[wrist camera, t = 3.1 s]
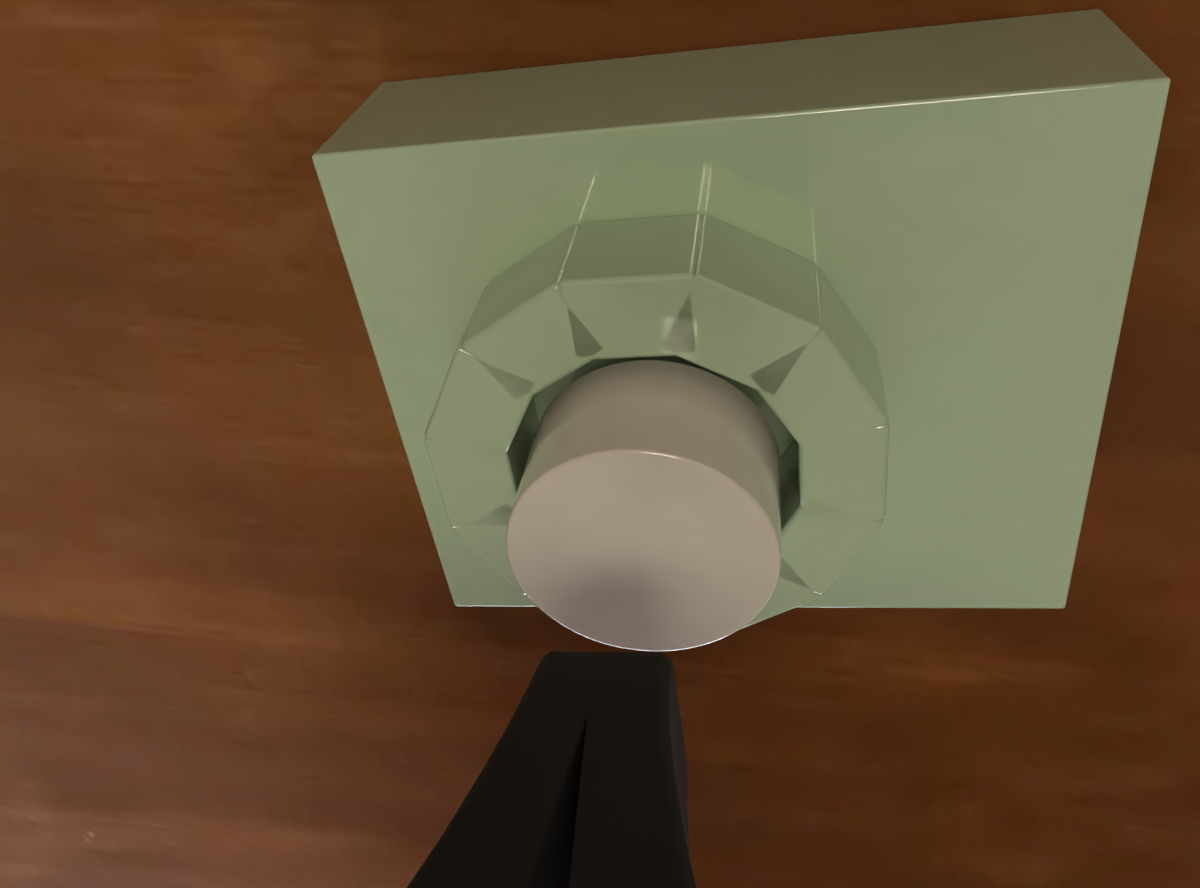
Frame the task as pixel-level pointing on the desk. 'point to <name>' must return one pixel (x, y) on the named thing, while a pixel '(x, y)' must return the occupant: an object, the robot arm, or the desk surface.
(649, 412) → the beige button cap
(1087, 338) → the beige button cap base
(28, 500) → the desk surface
